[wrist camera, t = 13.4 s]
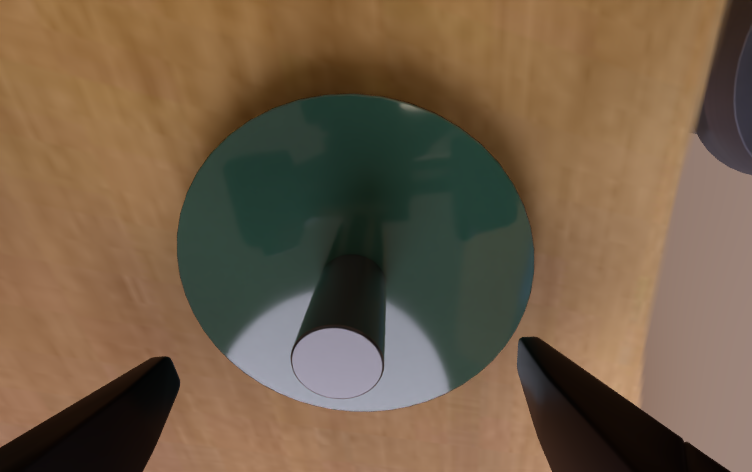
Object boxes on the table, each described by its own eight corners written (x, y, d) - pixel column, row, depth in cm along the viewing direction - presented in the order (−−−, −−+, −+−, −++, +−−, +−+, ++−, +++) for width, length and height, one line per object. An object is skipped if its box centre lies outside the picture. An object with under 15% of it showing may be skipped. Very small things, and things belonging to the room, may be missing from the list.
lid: (535, 71, 11) (647, 59, 6) (515, 385, 16) (568, 514, 11) (143, 114, 12) (-22, 134, 7) (239, 397, 17) (178, 520, 12)
